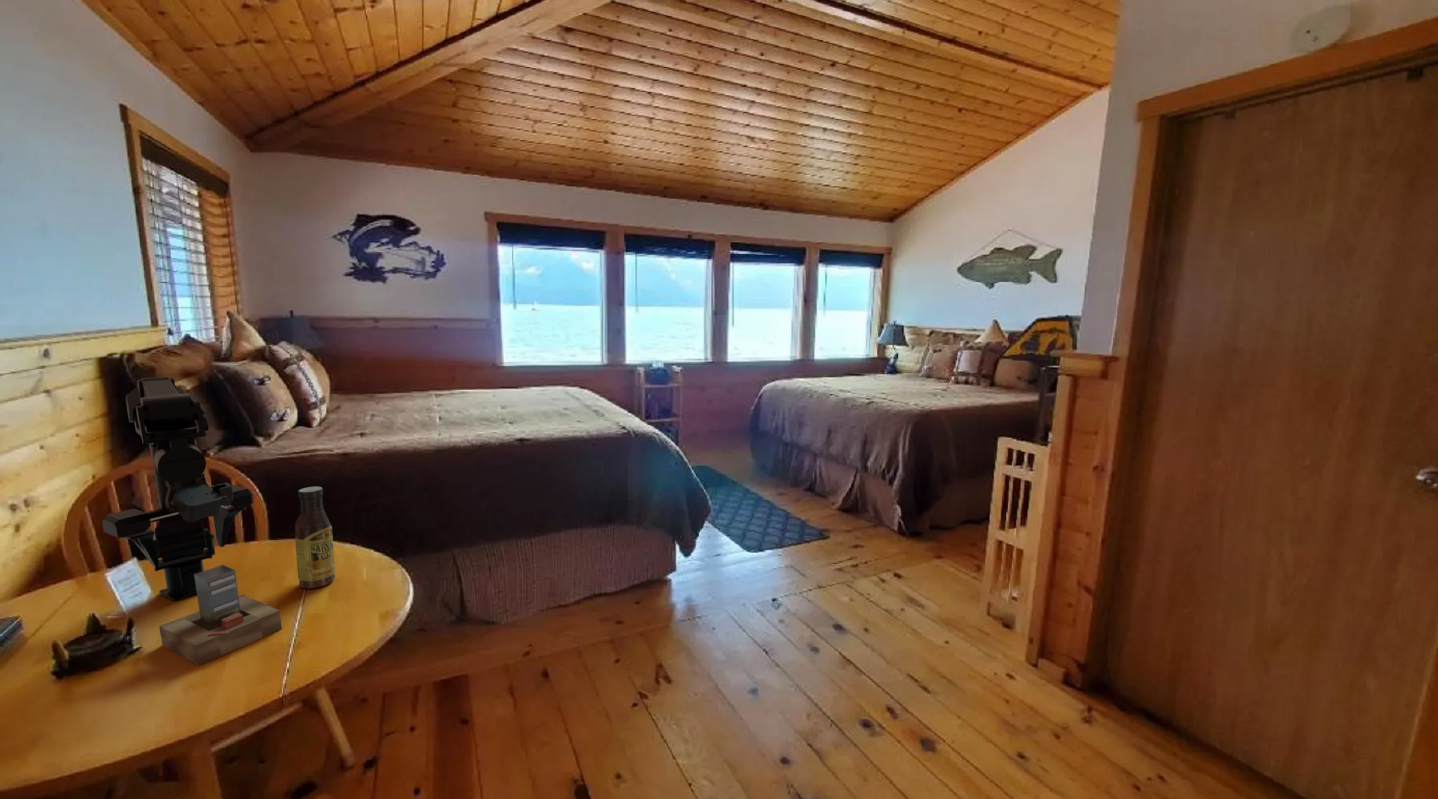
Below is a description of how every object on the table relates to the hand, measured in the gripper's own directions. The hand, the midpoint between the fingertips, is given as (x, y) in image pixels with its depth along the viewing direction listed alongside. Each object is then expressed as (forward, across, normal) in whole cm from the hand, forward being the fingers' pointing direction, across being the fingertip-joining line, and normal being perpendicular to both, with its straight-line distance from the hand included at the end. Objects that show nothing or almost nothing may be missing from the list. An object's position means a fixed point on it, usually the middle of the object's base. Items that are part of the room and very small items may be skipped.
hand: (190, 556), depth 103 cm
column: (+9, 0, -8) cm, 12 cm away
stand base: (+13, 0, -8) cm, 15 cm away
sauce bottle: (+13, +19, -2) cm, 23 cm away
